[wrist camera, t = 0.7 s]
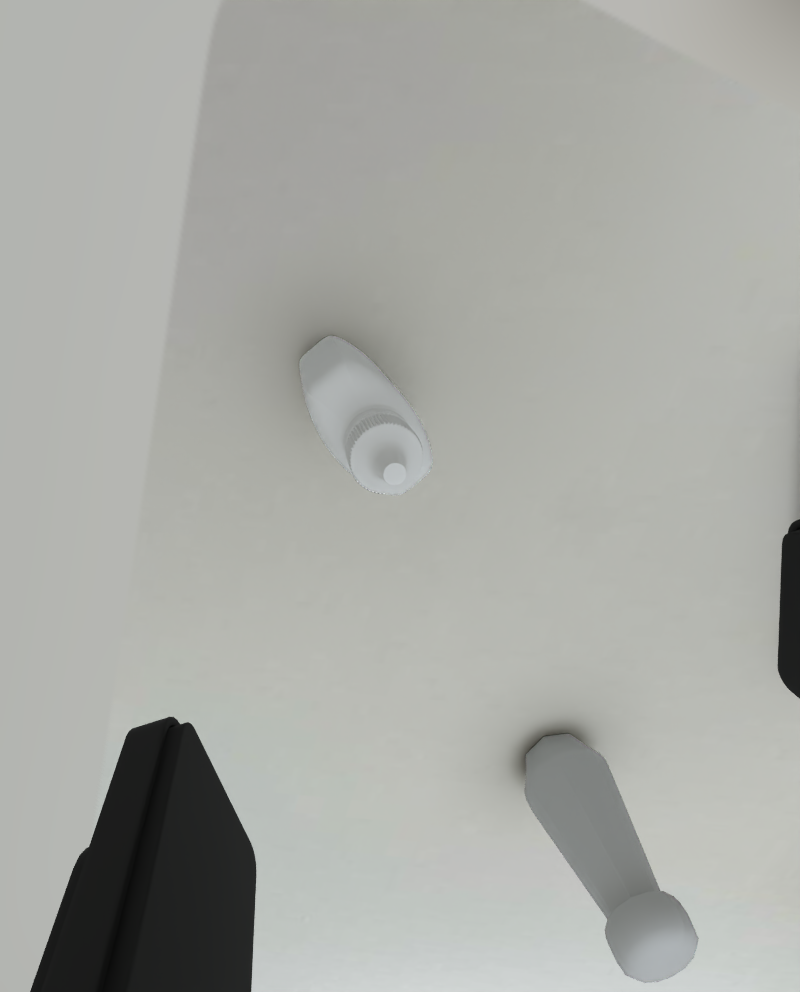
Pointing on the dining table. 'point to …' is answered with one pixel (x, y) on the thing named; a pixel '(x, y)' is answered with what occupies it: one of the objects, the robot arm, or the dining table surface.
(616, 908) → the salt shaker
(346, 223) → the dining table surface
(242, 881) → the robot arm
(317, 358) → the white plastic bottle
